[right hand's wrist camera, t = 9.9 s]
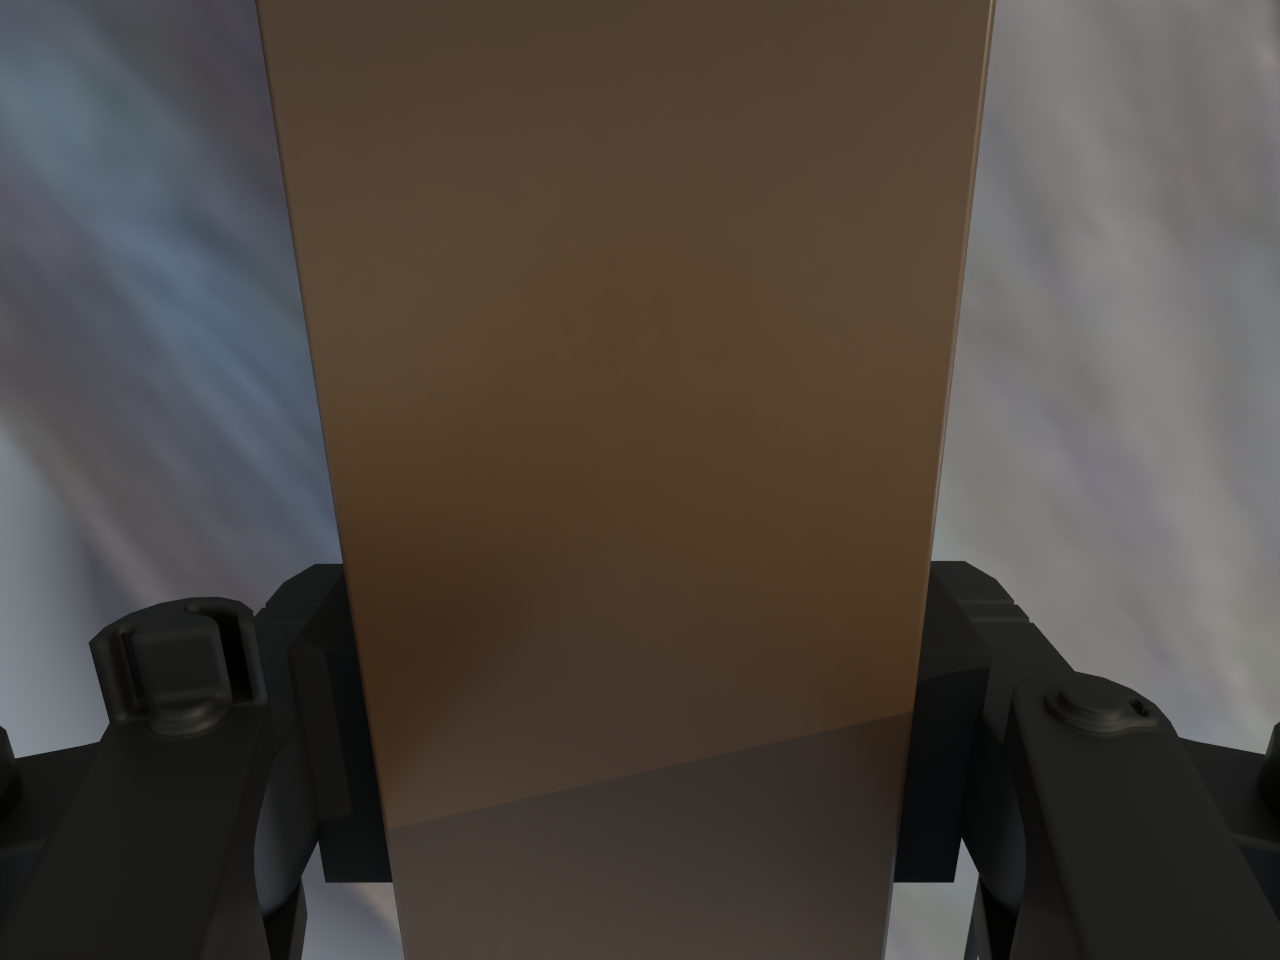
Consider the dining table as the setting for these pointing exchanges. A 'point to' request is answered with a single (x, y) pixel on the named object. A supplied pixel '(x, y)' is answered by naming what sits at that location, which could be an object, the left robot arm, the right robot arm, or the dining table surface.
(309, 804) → the right robot arm
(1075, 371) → the dining table surface
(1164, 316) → the dining table surface
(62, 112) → the dining table surface
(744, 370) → the post
